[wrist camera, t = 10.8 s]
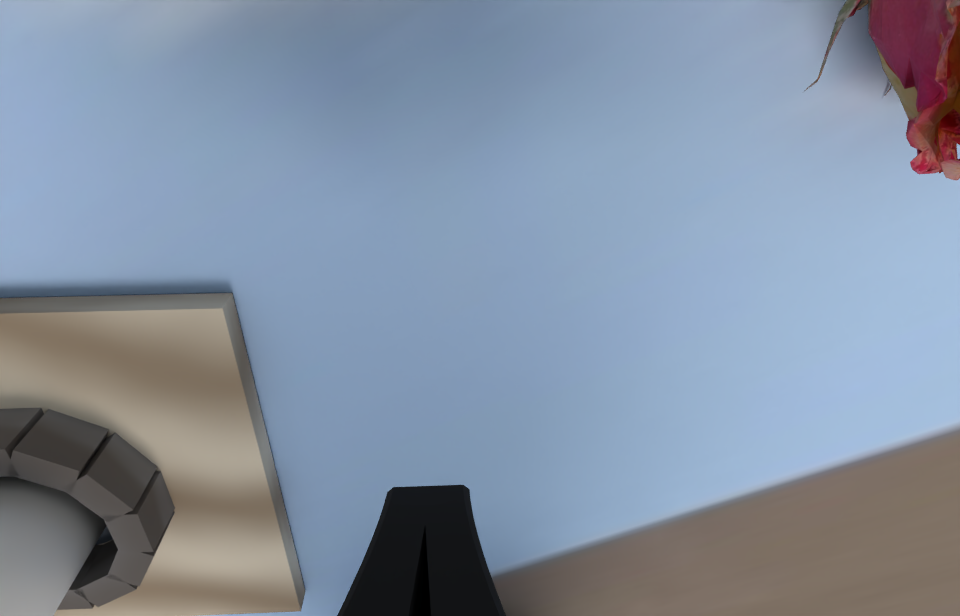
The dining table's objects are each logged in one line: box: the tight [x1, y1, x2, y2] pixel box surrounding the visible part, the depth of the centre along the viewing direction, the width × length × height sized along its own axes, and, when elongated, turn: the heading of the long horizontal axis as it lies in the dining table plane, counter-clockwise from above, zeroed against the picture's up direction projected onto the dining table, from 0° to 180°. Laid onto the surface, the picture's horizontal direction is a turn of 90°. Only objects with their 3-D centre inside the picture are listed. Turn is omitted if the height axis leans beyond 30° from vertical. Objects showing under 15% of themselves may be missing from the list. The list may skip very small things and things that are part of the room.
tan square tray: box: [0, 293, 305, 616], centre depth 23 cm, size 16×16×3 cm
